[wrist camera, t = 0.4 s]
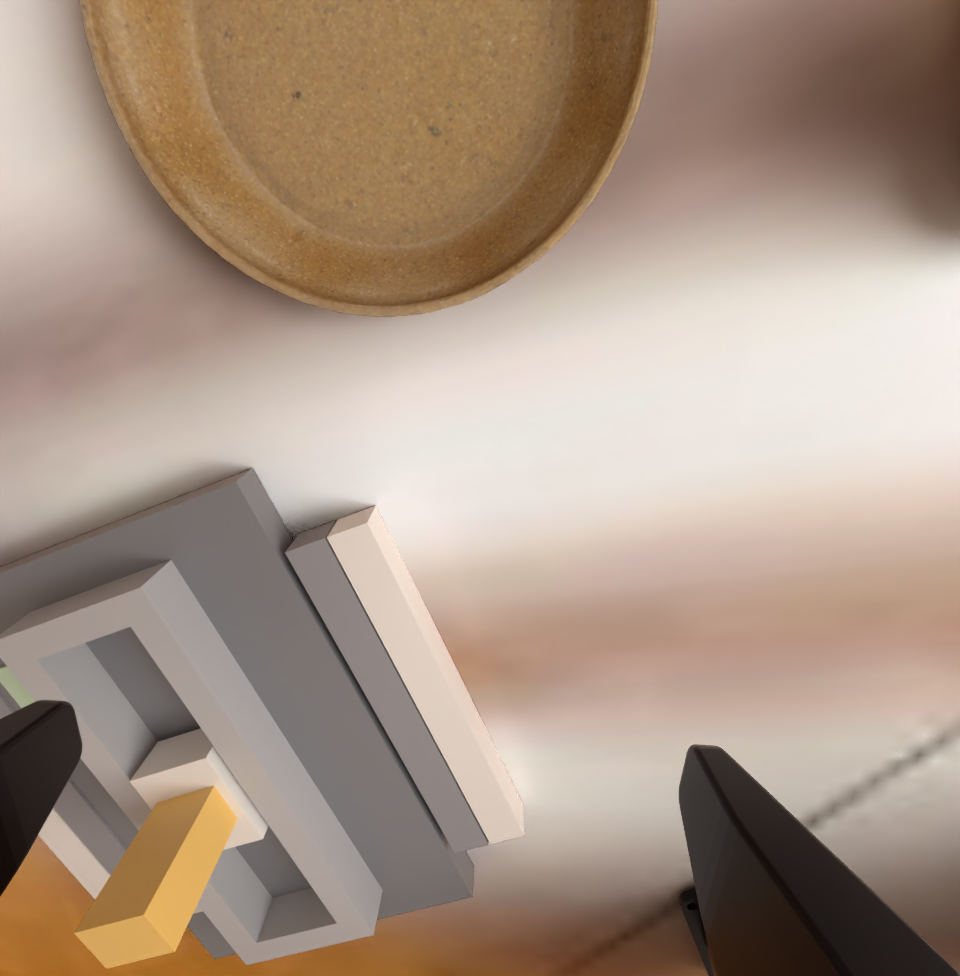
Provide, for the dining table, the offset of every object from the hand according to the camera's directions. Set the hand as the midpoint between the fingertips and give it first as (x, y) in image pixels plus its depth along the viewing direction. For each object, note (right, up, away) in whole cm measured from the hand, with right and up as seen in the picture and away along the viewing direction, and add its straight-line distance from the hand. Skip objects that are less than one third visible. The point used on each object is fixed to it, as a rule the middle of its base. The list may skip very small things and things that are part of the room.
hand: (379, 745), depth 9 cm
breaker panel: (-9, -7, +18) cm, 22 cm away
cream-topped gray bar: (-1, -4, +17) cm, 17 cm away
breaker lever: (-9, -8, +16) cm, 21 cm away
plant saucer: (-1, +17, +9) cm, 19 cm away
